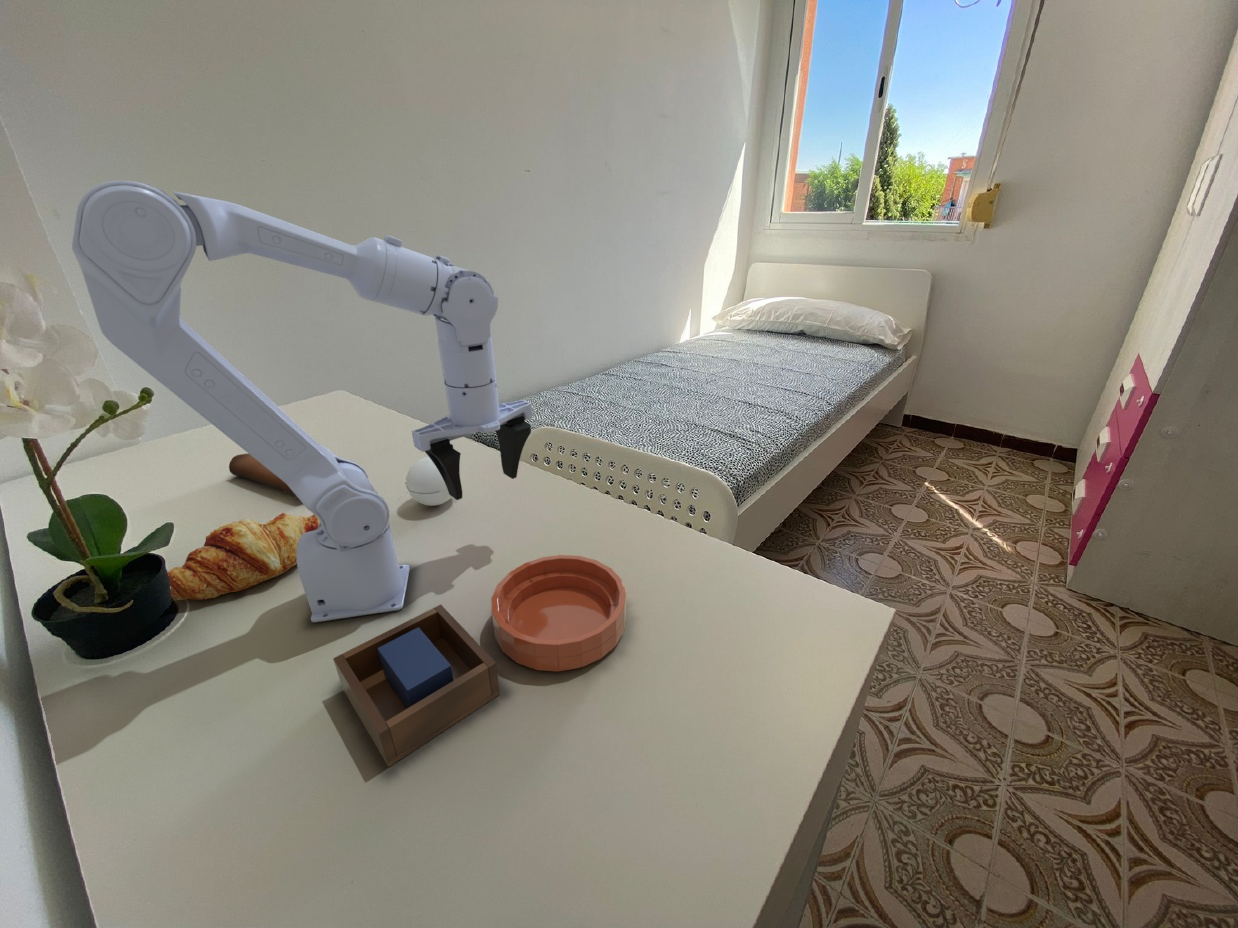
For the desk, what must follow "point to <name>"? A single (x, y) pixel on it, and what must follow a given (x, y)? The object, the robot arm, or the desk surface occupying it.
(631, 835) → the desk surface
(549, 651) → the bowl
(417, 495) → the white sphere
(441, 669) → the dark blue block
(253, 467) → the sunglasses case
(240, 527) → the croissant
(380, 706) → the box
